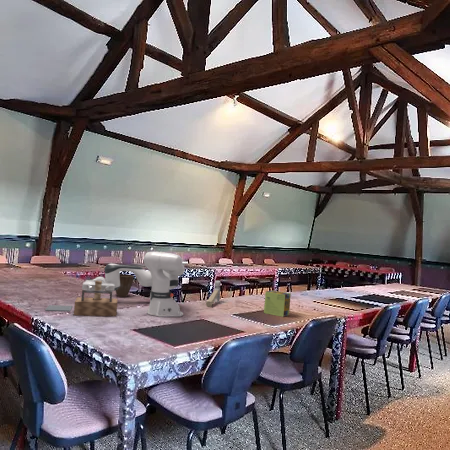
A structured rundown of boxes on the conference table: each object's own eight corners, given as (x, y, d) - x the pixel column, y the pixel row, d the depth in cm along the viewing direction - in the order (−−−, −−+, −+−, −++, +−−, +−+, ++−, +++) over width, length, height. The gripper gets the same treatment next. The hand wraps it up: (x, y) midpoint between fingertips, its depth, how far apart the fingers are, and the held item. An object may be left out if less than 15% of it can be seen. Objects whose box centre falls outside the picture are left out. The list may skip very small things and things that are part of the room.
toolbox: (116, 311, 264) (118, 288, 264) (116, 316, 251) (118, 292, 251) (76, 310, 258) (78, 286, 258) (73, 315, 245) (75, 290, 245)
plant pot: (110, 294, 322) (112, 273, 322) (129, 294, 328) (131, 274, 328) (113, 298, 309) (115, 276, 309) (134, 298, 315) (135, 276, 315)
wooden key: (99, 305, 260) (101, 280, 260) (99, 306, 256) (101, 281, 256) (93, 305, 259) (95, 280, 259) (93, 306, 255) (95, 281, 255)
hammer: (212, 294, 300) (221, 280, 329) (206, 293, 301) (215, 280, 330) (211, 315, 304) (220, 299, 332) (205, 314, 305) (214, 299, 333)
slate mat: (72, 306, 267) (72, 305, 267) (70, 311, 254) (70, 310, 254) (48, 306, 264) (49, 305, 264) (45, 310, 250) (45, 309, 250)
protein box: (283, 317, 289) (285, 294, 290) (263, 313, 298) (265, 291, 298) (289, 315, 298) (291, 293, 299) (269, 311, 306) (271, 290, 307)
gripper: (114, 290, 283) (114, 294, 270) (82, 289, 278) (81, 292, 265) (115, 281, 283) (115, 284, 270) (83, 279, 278) (81, 282, 265)
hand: (98, 288), depth 267 cm, fingers open, 8 cm apart
